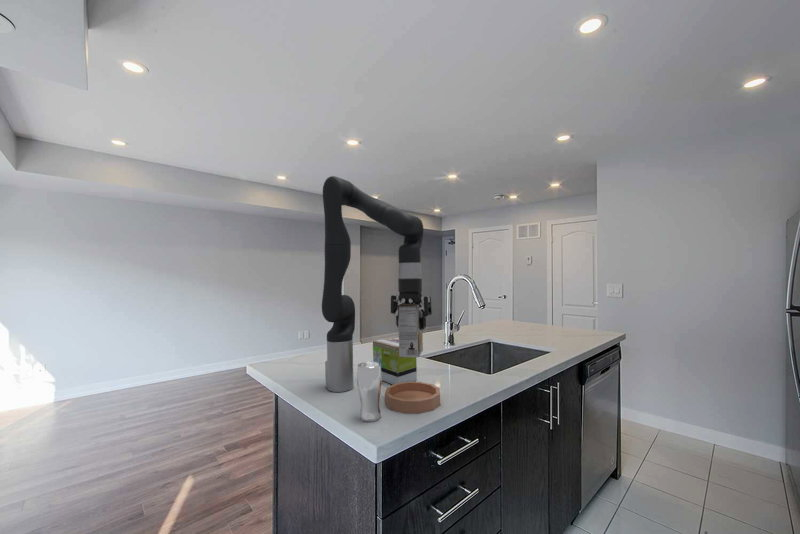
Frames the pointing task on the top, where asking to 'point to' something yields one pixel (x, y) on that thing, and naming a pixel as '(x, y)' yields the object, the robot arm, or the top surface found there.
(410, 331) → the coffee box
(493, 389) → the top surface
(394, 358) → the tea box
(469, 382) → the top surface
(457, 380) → the top surface
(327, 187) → the robot arm
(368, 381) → the beer glass
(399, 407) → the terracotta dish
